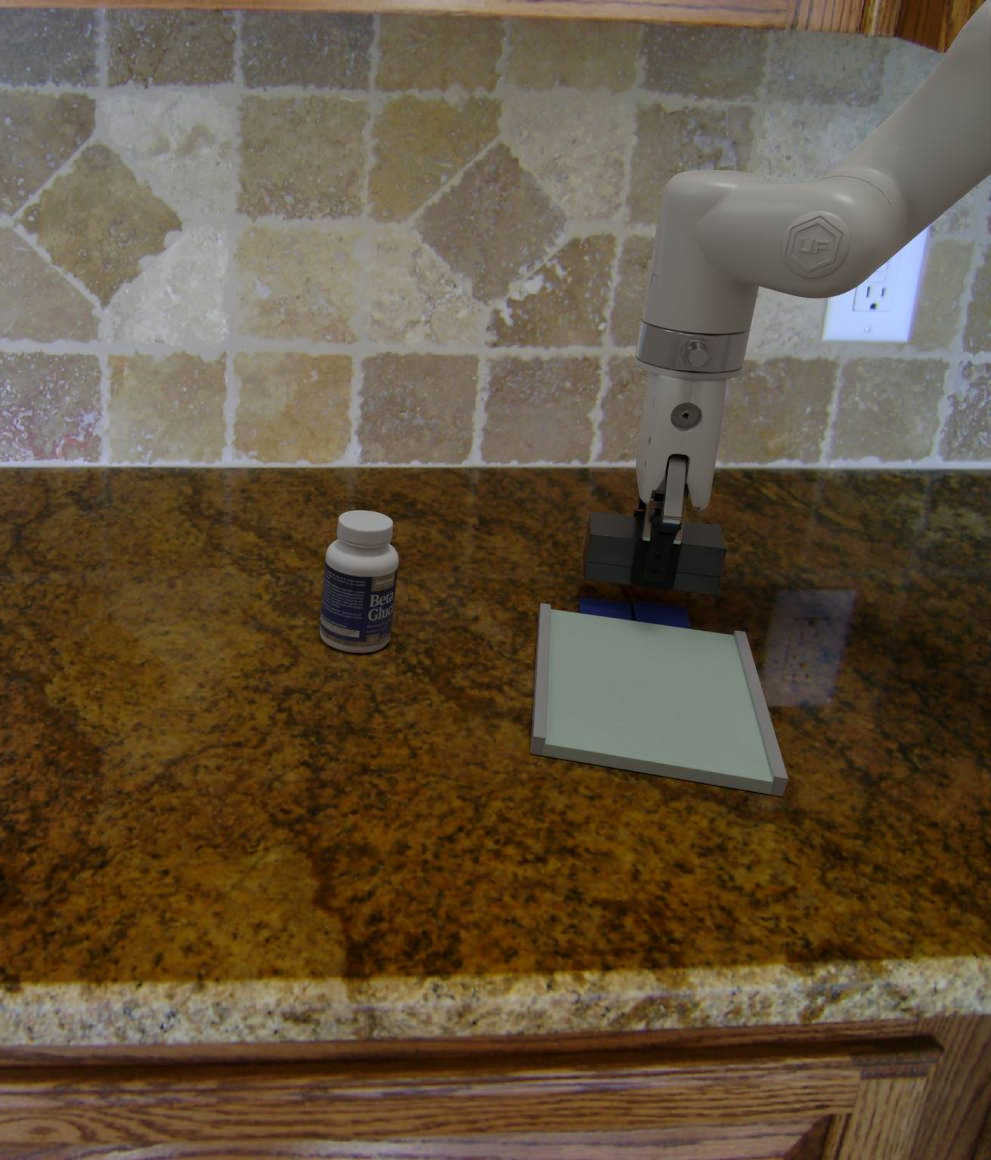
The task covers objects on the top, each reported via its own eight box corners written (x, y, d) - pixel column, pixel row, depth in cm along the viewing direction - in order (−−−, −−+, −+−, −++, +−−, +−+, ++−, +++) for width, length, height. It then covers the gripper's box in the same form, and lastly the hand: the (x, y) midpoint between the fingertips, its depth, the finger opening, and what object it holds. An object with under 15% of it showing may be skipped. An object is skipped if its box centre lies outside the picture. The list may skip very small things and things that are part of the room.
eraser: (710, 570, 95) (720, 524, 93) (717, 596, 90) (727, 548, 89) (582, 555, 97) (589, 511, 95) (583, 580, 93) (590, 533, 91)
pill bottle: (374, 662, 85) (386, 540, 81) (307, 643, 88) (316, 524, 83) (400, 632, 90) (413, 515, 85) (336, 615, 92) (346, 500, 88)
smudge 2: (684, 615, 94) (686, 606, 93) (689, 638, 90) (691, 629, 90) (632, 609, 95) (634, 600, 94) (636, 631, 91) (637, 622, 91)
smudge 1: (629, 612, 95) (630, 603, 94) (631, 634, 91) (633, 625, 91) (578, 605, 96) (579, 596, 95) (578, 626, 92) (580, 617, 92)
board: (741, 647, 89) (745, 631, 89) (783, 797, 72) (788, 778, 71) (537, 618, 93) (540, 602, 92) (530, 753, 75) (533, 735, 75)
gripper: (761, 381, 78) (709, 624, 85) (730, 327, 93) (688, 538, 100) (643, 372, 79) (602, 611, 87) (631, 320, 94) (597, 528, 102)
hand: (649, 570), depth 94 cm, fingers closed on eraser, 5 cm apart
